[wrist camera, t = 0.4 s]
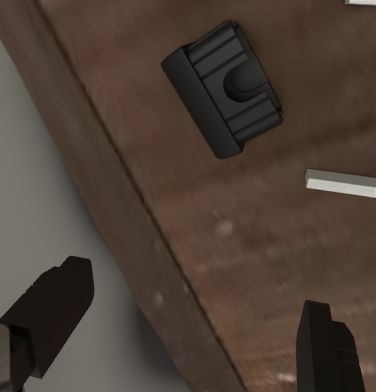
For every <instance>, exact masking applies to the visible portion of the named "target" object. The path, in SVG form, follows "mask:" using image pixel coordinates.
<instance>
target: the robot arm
mask: <svg viewBox="0 0 376 392" xmlns="http://www.w3.org/2000/svg"><path fill="white" fill-rule="evenodd" d="M93 297H94V282H93V273H92V264H91V261H90V259H86V258H81V257H75V256H69V257H68V258H67V259H66V260H65V261H64V262H63V263H62V265H61V266H60V267H55V266H54V267H53V268H51V269H49V270H48V271H46V272H44V273H43V274H41V275H40V277H39V278H38V279H37V280H36V281H35V282H34V283H33V285H31V286H30V287H29V288H28V289H27V291H26V293H24V294H23V295H22V296H21V297H20V298H19V299H18V300H17V301H16V302H15V303H14V304H13V305H12V307H11V308H10V309H9V310H8V311H7V312H6V313H5V314H4V315H3V316H2V317H1V318H0V392H25V387H24V383H25V382H26V380H27V379H28V377H29V376H33V377H36V378H40V379H42V377H43V376H44V374H45V373H46V371H47V370H48V368H49V367H50V365H51V364H52V362H53V361H54V359H55V358H56V356H57V355H58V353H59V352H60V350H61V349H62V347H63V345H64V344H65V343H66V341H67V340H68V338H69V337H70V335H71V334H72V332H73V331H74V329H75V328H76V326H77V325H78V323H79V322H80V320H81V319H82V317H83V316H84V314H85V313H86V311H87V310H88V308H89V307H90V305H91V303H92V300H93ZM356 352H357V350H356V345H355V341H354V336H353V335H352V334H351V332H350V331H349V329H348V328H347V326H346V325H345V323H342V322H337V321H332V317H331V311H330V306H329V304H326V303H321V302H315V301H310V300H306V301H305V304H304V308H303V312H302V316H301V320H300V324H299V328H298V332H297V339H296V366H297V392H366V391H365V387H364V382H363V378H362V373H361V368H360V366H359V359H358V355H357V353H356Z"/></svg>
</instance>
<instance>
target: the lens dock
mask: <svg viewBox="0 0 376 392" xmlns="http://www.w3.org/2000/svg"><path fill="white" fill-rule="evenodd" d="M344 4H353V5H372V6H376V0H345V3H344ZM305 180H306V187H307V188H314V189H320V190H327V191H334V192H341V193H348V194H355V195H362V196H369V197H376V178H372V177H365V176H358V175H350V174H343V173H335V172H328V171H321V170H313V169H307V172H306V176H305Z"/></svg>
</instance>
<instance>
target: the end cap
mask: <svg viewBox="0 0 376 392" xmlns="http://www.w3.org/2000/svg"><path fill="white" fill-rule="evenodd" d="M161 67H162V69H163V70H164V72H165V74H166V75H167V77H168V79H169V80H170V82H171V84H172V85H173V87H174V89H175V90H176V92H177V93H178V95H179V97H180V98H181V100H182V102H183V103H184V105H185V107H186V108H187V110H188V112H189V113H190V115H191V117H192V118H193V120H194V122H195V123H196V125H197V127H198V128H199V130H200V132H201V133H202V135H203V137H204V138H205V140H206V142H207V143H208V145H209V146H210V148H211V150H212V151H213V153H214V155H215V156H216V158H218V159H225V158H229V157H232V156H235V155H237V154H239V153H241V152H242V151H243V148H244V145H245V142H247V141H249V140H251V139H253V138H255V137H257V136H259V135H261V134H263V133H265V132H267V131H269V130H270V129H272V128H274V127H276V126H278V125H280V124H282V122H283V118H282V115H283V110H282V108H281V103H280V101H279V99H278V97H277V95H276V93H275V91H274V89H273V88H272V86H271V84H270V82H269V80H268V78H267V76H266V74H265V72H264V70H263V68H262V66H261V64H260V63H259V61H258V59H257V57H256V55H255V53H254V51H253V49H252V47H251V45H250V43H249V41H248V40H247V38H246V36H245V34H244V32H243V30H242V28H241V26H240V25H239V24H237V22H236V21H232V20H230V21H225V22H224V23H222V24H221V25H219V26H218V27H216V28H215V29H214V30H212V31H211V32H209V33H208V34H206V35H205V36H204V37H202V38H201V39H199V40H198V41H196V42H194V43H191V44H187V45H184V46H181V47H180V48H178V49H177V50H175V51H174V52H173V53H171V54H170V55H169V56H168V57H166V58H165V59H164V60H163V61H162V63H161Z"/></svg>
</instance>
